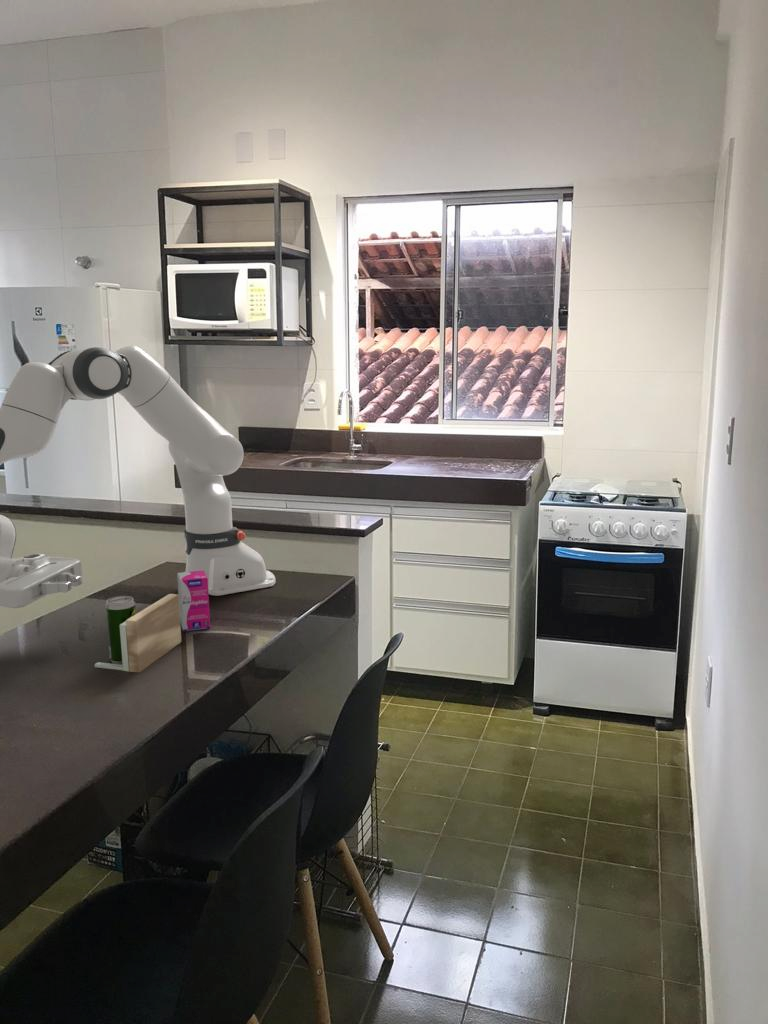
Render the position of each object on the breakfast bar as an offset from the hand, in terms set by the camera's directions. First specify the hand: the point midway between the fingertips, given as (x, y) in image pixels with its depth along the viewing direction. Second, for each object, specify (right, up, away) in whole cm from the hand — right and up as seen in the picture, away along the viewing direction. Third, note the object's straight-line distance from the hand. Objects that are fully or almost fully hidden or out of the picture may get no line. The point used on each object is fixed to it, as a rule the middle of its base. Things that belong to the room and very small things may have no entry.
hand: (74, 584), depth 163 cm
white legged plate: (+10, -14, -2) cm, 18 cm away
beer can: (+10, -15, -2) cm, 18 cm away
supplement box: (+20, -11, +16) cm, 28 cm away
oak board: (+16, -14, 0) cm, 21 cm away
